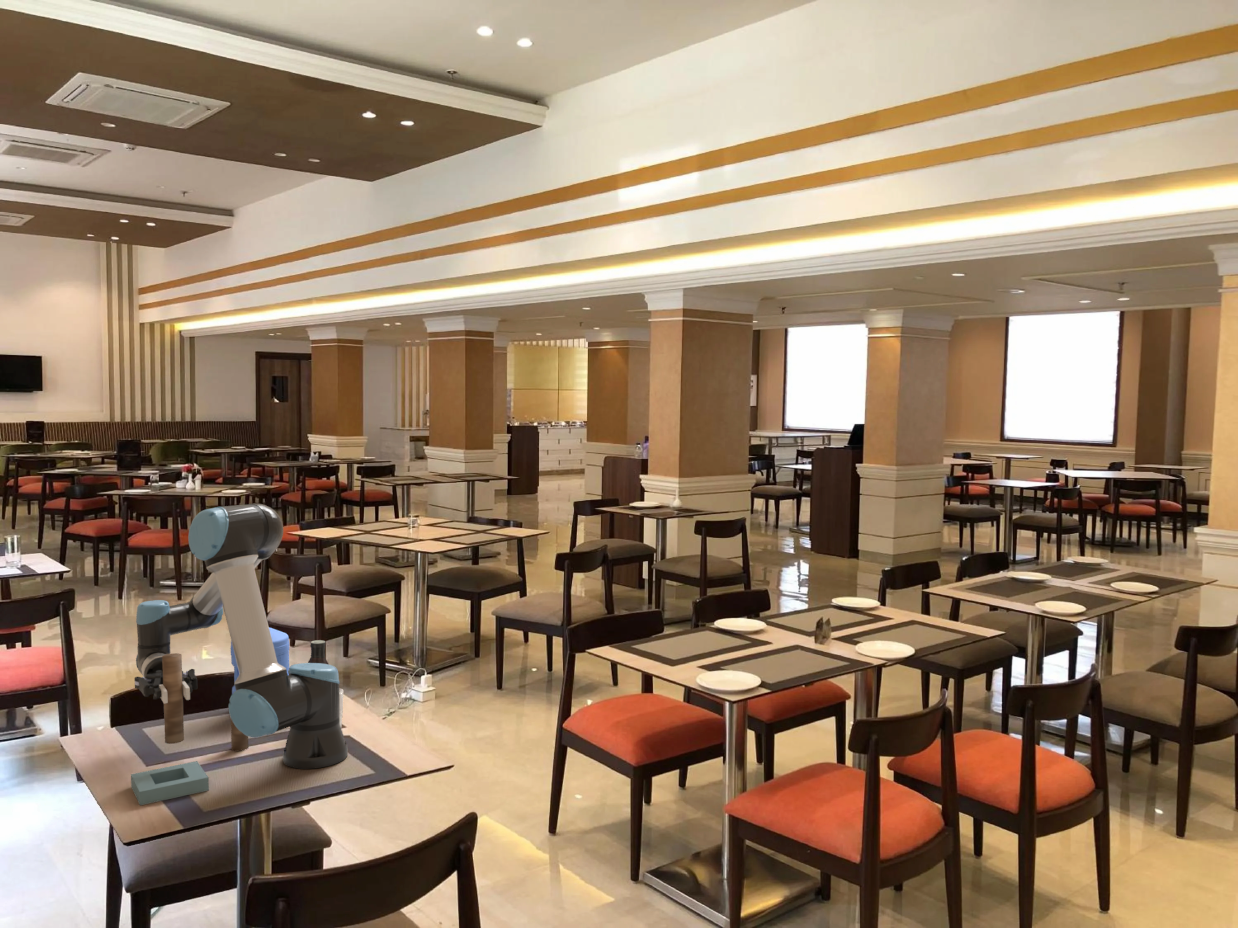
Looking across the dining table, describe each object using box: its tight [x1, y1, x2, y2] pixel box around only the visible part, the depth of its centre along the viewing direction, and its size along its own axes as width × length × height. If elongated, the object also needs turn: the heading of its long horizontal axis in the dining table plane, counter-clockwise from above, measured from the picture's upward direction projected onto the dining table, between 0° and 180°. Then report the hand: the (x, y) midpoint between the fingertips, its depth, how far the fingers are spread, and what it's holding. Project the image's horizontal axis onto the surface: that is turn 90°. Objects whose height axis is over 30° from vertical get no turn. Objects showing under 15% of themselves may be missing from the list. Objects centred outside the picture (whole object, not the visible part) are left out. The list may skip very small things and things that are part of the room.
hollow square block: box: [130, 760, 210, 806], centre depth 216 cm, size 12×14×3 cm
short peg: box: [230, 718, 249, 752], centre depth 241 cm, size 4×4×9 cm
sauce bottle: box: [307, 639, 330, 665], centre depth 270 cm, size 6×6×20 cm
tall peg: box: [162, 652, 185, 745], centre depth 221 cm, size 4×4×20 cm
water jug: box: [229, 627, 290, 695], centre depth 270 cm, size 16×16×28 cm
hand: (177, 695), depth 216 cm, fingers closed on tall peg, 4 cm apart
